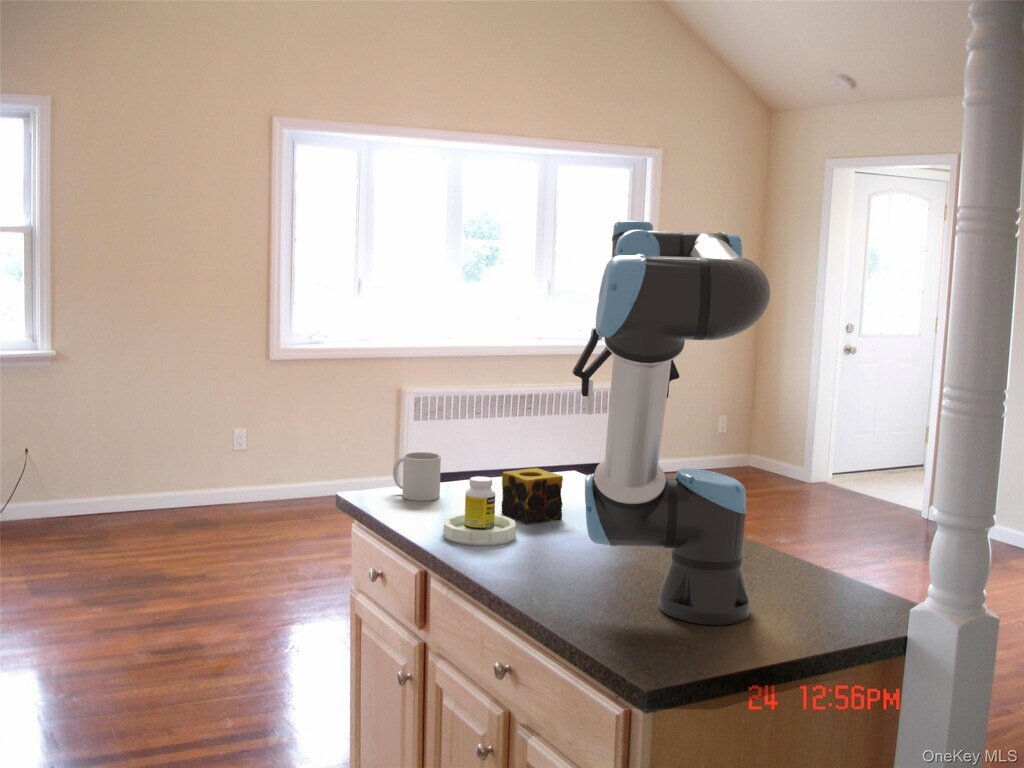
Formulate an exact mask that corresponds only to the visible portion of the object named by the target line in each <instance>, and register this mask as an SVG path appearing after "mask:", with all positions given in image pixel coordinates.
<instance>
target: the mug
mask: <svg viewBox="0 0 1024 768" xmlns="http://www.w3.org/2000/svg"><path fill="white" fill-rule="evenodd" d="M441 460H442V456H441V455H440V454H438V453H433V452H426V451H425V452H424V451H416V452H415V451H414V452H408V453H405V454H403V456H402V458H399V459H398V460H396V462H395V464H394V465H393V468H392V476H393V480H394V483H395V485H396V486H397V487H398V488H400V489H401V490H402V498H404V499H406V500H408V501H415V502H430V501H436V500H437V499H439V498H440V496H441V464H442V463H441V462H442V461H441ZM402 462H403V463H402ZM401 463H402V465H403V466H402V467H403V468H402V482H401V480H400V479H399V476H398V469H399V466H400V464H401Z"/></svg>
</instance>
